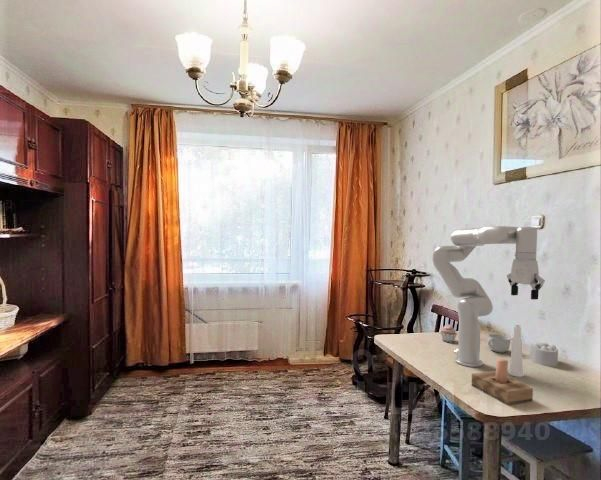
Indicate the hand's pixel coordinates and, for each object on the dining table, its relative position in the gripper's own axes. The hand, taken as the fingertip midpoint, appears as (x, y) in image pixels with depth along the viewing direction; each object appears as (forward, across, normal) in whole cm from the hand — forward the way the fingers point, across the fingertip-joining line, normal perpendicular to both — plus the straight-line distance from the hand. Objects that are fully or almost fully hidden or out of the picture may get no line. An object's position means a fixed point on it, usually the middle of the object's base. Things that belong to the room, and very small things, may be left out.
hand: (524, 297), depth 160 cm
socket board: (+36, +6, -17) cm, 41 cm away
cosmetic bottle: (+36, -8, +6) cm, 38 cm away
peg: (+35, +6, -17) cm, 40 cm away
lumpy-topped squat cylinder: (+37, -17, +34) cm, 53 cm away
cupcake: (+36, -59, +11) cm, 70 cm away
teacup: (+37, -37, +24) cm, 57 cm away
